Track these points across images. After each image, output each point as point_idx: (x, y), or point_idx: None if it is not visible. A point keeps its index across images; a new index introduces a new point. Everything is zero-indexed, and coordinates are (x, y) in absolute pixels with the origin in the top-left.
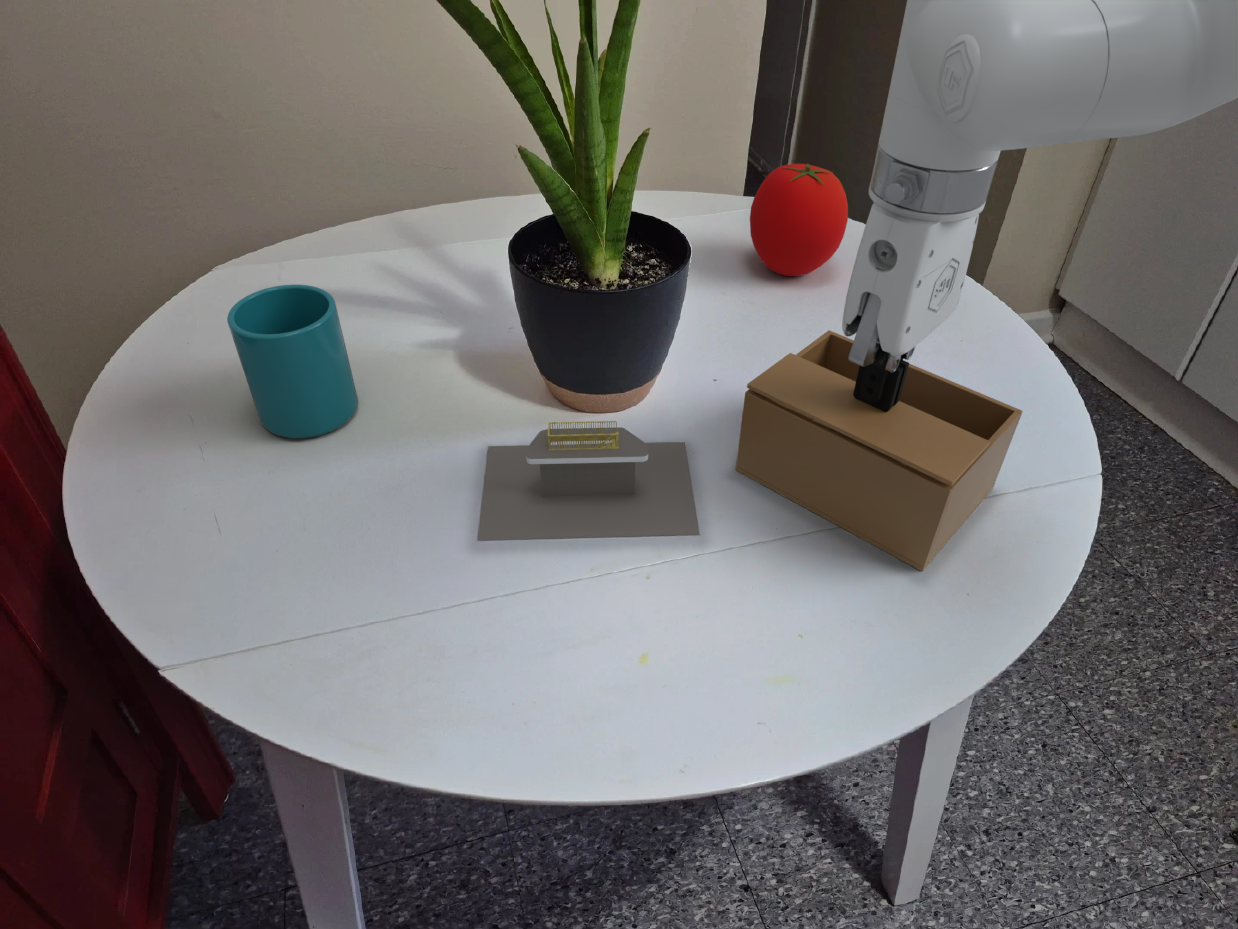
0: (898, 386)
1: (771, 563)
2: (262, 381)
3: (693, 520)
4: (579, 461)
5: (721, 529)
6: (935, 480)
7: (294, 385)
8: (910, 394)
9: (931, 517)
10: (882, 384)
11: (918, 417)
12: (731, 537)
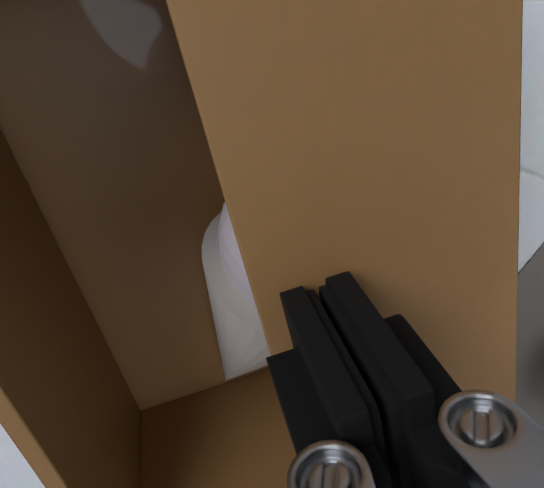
0: (333, 337)
1: (533, 111)
2: None
3: (536, 259)
4: None
5: (522, 222)
6: None
7: None
8: (35, 342)
9: None
10: (432, 361)
11: (278, 198)
12: (526, 199)
